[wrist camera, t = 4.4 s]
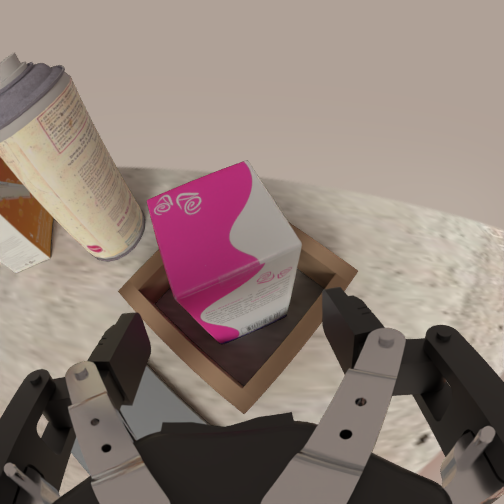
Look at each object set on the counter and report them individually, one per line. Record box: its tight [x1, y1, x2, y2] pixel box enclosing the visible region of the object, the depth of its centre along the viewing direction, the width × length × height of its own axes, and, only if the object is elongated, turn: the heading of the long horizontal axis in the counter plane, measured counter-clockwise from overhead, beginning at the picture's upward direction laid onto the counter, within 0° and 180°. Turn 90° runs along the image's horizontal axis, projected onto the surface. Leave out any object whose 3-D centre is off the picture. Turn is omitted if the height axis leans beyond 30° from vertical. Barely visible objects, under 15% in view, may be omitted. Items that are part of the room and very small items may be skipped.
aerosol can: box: [0, 53, 145, 261], centre depth 17 cm, size 7×7×20 cm
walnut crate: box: [118, 223, 358, 414], centre depth 21 cm, size 12×12×4 cm
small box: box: [0, 157, 53, 273], centre depth 20 cm, size 8×6×13 cm
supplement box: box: [147, 160, 302, 344], centre depth 17 cm, size 6×6×12 cm
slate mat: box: [71, 365, 210, 476], centre depth 16 cm, size 14×12×1 cm
